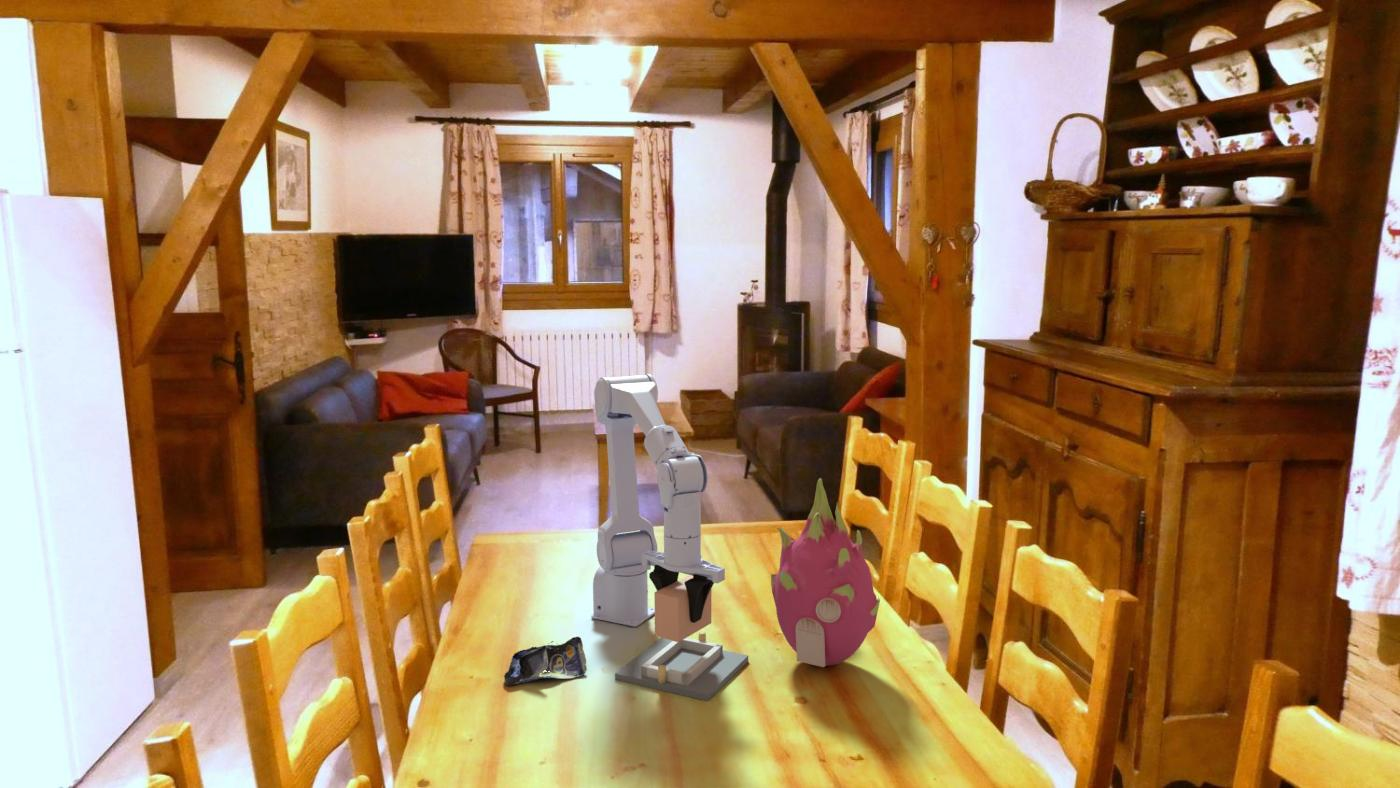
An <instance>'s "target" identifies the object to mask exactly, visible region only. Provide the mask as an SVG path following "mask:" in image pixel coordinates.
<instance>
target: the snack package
mask: <svg viewBox="0 0 1400 788" xmlns="http://www.w3.org/2000/svg"><path fill="white" fill-rule="evenodd" d="M553 642H554V641H553V640H552V641H550V643H553ZM550 643H547V645H545V644H544V645H542V646H532V647H530V648H526V649H522V650H518V651H517V652H515V653H514V654H513V656H512V658H511V660H510V664H509V667H508V671H507V672H505V674H504V677H503V678H504V681H505V682H504V683H505V685H506V687H511V686H512V687H513V686H514V685H517V684H522V683H523V684H524V683H528V682H533V681H536V680H539V679H563V680H565V679H566V680H567V679H570V680H571V679H572V677H573V678H578V677H582V676H584V675H585V674H586V673H587V670H588V669H587V657H586V654H585V651H584V645H583V641H582V638H581V637H580V636H574V637H572V638H570V639H568V640H567V641H566V642H564V643H561V644H556V645H554V644H550ZM544 670H546V671H547V672H548V671H550V672H552V673H551V675H544V676H543V675H542V676H540V675H541V674H540V673H543V671H544ZM543 674H544V673H543ZM552 674H558V675H559V674H560V675H564V676H570V678H569V677H568V678H567V677H558V676H554V675H552Z"/></svg>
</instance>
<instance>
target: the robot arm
mask: <svg viewBox="0 0 1400 788" xmlns="http://www.w3.org/2000/svg"><path fill="white" fill-rule="evenodd" d="M593 391H594V392H593V395H594V410H595V417H596V422H597V423H599V424H601V425H604V429H605V434H606V447H607V449H606V450H607V461H608V462H607V463H608V464H607V465H608V476H609V477H608V478H609V489H610V490H609V491H610V502H611V505H610V506H611V516H610V517H608V519H606V521H604V522H603V523H602V524H601V525H600V526H599V527H598V530H597V542H596V557H597V561H598V564H599V567H598V568H597V570H596V571H595V573H594V577H593V582H592V600H593V605H592V606H593V607H592V608H593V614H591V616H590V617H591V618H592V619H595V620H601V621H604V622H610V623H615V624H619V625H624V626H630V627H638V626H639V625H641V624H643V623H644V622H645V621H646V620H648V619H650V617H652V616H654V615H655V608H652V607H649V605H648V604H649V602H648V601H649V599H648V597H649V595H648V593H649V591H648V589H649V588H648V586H649V585H648V576H649V579H650V581H651V582H652V584H653V585H654V589H656V591H658V590H661V589H663V588H665V587H667V586H669V585H671V584H673V583H675V582H677V581H679V580H678V579H679V575H680V573H681V574H684V575H687V576H691V577H693V578H691V579H689V580H687V581H685V586H686V589H687V593H688V598H689V615H690V621H691V622H692V623H695V622H697V621H699V620H700V619H701V618H702V613H703V609H704V605H705V602H706V599H707V596H708V594H709V592H710V590H711V591H712V588H713V586H714V584H719V583H721V582H723V581H725V579H726V576H725V574H726V572H725V571H726V569H725V567H721V566H719V565H716V564H715V563H712V562H710V561H707V560H706V559H704V558H702V554H701V553H702V548H701V546H702V545H701V544H702V543H701V542H702V540H701V539H702V536H701V535H702V530H701V529H702V527H701V525H702V521H701V520H702V519H701V518H702V515H701V514H702V513H701V511H702V510H701V508H702V507H701V505H702V502H701V501H702V499H701V498H702V497H701V493H704V492H705V491H706V488H707V487H708V478H709V477H708V469H707V465H706V463H705V461H704V459H703V456H701V455H700V454H696V453H695V452H690V451H689V449H688V448H687V446H686V444H685V443H684V441H683V440H682V438H681V436H680V435H679V432H678V431H677V430H676V429H675V427H674V426H671V425H668V424H666V423H665V421H664V418H663V417H662V414H661V412H660V409H659V407H658V399H659V390H658V385H657V381H656V379H655V378H654V377H653V375H652V374H650V373H645V374H639V375H626V376H612V377H611V376H608V377H607V376H601V377H599V378H598V380H597V381H596V383H595V387H594V390H593ZM636 424H637V426H638V427H639V429H640V430H641V431H642V434H644V436H645V438H644V441H643V447H644V449H645V450H646V452H647V454H648V456H649V457H650V459H651V461H652V462H653V463H652V464H653V465H654V466H655V468H656V470H657V473H656V482H657V486H658V490H659V496H660V497H659V500H660V504H661V505H662V506H663V552H659V551H658V543H657V539H656V537H655V531H654V530H655V529H654V526H653V524H652V522H651V521H649V520H648V519H646V518H645V517H643V516H642V515H640V507H639V505H640V504H639V493H638V491H639V489H638V476H637V463H636V448H635V434H634V428H635V426H636ZM652 567H653V570H652V571H651V568H652ZM649 570H650V571H651V572H649V573H648V571H649ZM648 574H649V575H648Z"/></svg>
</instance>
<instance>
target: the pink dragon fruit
mask: <svg viewBox="0 0 1400 788" xmlns="http://www.w3.org/2000/svg"><path fill="white" fill-rule="evenodd" d="M829 504H830V503H829V501H828V496H827V492H826V490H825V488H824V484H823V479H822V478H821V477H820V478H818V480H817V482H816V489H815V494H814V501H813V505H812V508H811V509H810V513H809V514H808V516H807V519H806V522H805V526H804V527H803V530H802V532H801V533H800V535H799V537H798V538H797V539H794V538H793V537H792V536H791V535H790V534H788V532H787V531H786V530H785V529H783V528H782V527H781V526H780V527H777V528H776V529H777V530H778V531H779V534H780V539H781V550H780V558H779V568H778V572H777V573H770V575H771V576H770V586H771V593H772V596H773V600H774V605H775V610H776V611H775V612H776V617H777V621H778V624H779V627H780V630H781V632H782V634H783V636H784V638H785V640H786V642H787V643H788V645H789V646H790V647H791V648H792V650H793V651H794V652H795V653H796V661H797V662H800V663H805V664H807V665H812V666H817V667H821V668H825V667H826V666H827V667H829V666H834V665H839V664H841V663H843V662H845V661H846V660H848V659H850V658H851V657H853V655H855V653H856V652H857V651H858V650H859V649H860V647H861V646H862V644H863V643H864V641H865V639H866V638H867V635H868V634H869V633H870V632H871V631H872V629H874V628H875V626H876V621H877V617H878V612H879V607H880V601H881V598H880V597H877V595H876V594H875V592H874V585H873V579H872V574H871V569H870V567H869V564H868V563H867V561H866V560H865V558H864V556H863V547H862V546H863V537H862V534H861V531H860V530H859V529H857V531H856V542H855V543H854V542H853V541H852V540H851V538H850V535H849V531H848V528H847V526H846V523H845V521H844V519H843V516H842V515H843V514H842V513H841V511H840V508H839V504H838V501H836V506H835V511H834V514H835V518H834V516H833V513H832V510H831V507H830V505H829Z"/></svg>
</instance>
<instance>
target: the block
mask: <svg viewBox="0 0 1400 788" xmlns="http://www.w3.org/2000/svg"><path fill="white" fill-rule="evenodd" d="M691 578H693V576H692V575H687V576H685V577H683V578H681V579H679V580H678V581H677V582H675V583H673V584H671V585H669V586H667V587H665V588H663V589H661V590H658V591H657V590H656V591H654V596H653V597H654V609H655V614H654V636H656V637H658V638H665V639H668V640H672V641H675V642H680V641H682V640H683V639H685V638H689V637H691V636H692V635H693V634H695V633H697V632H698V631H699V632H700V630H702V629H704V628H705V627H707V626H709V625H711V624H712V589H711V590H710V592H709V594H708V596H707V599H706V602H705V605H704V609H703V613H702V618H701V619H700V620H699V621H697V622H695V623H692V622H691V621H690V615H689V598H688V593H687V589H686V586H685V581H687V580H689V579H691Z"/></svg>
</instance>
